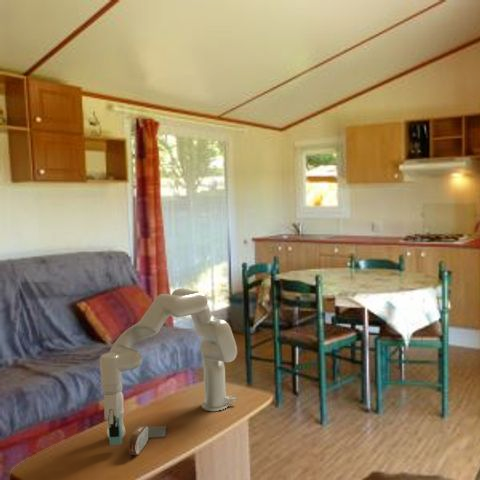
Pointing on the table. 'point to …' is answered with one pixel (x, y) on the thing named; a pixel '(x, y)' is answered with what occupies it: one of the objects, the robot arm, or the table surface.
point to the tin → (138, 439)
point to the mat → (157, 432)
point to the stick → (119, 439)
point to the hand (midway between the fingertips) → (115, 433)
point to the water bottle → (121, 417)
